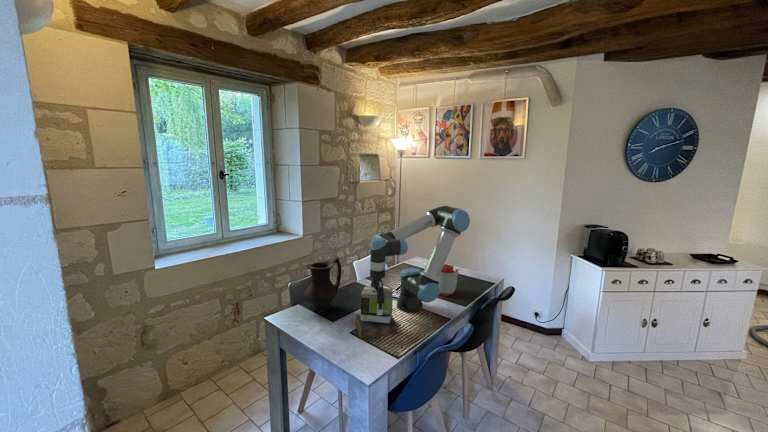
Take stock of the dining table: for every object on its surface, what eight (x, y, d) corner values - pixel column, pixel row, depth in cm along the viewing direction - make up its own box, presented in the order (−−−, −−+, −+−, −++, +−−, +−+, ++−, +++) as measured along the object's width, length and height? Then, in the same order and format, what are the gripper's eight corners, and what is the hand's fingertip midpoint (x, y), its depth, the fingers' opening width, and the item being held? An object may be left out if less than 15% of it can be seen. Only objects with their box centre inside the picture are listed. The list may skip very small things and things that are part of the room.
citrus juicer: (463, 296, 206) (465, 266, 202) (439, 299, 200) (441, 269, 197) (450, 286, 221) (452, 258, 217) (428, 289, 215) (429, 261, 211)
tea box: (392, 314, 167) (393, 288, 165) (389, 324, 158) (390, 296, 155) (364, 311, 170) (364, 285, 167) (360, 320, 160) (360, 293, 157)
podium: (389, 319, 174) (390, 311, 173) (397, 334, 160) (398, 325, 159) (355, 322, 170) (355, 314, 169) (360, 338, 155) (360, 329, 154)
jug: (307, 318, 172) (306, 266, 166) (302, 304, 189) (301, 255, 183) (345, 312, 180) (345, 261, 175) (336, 298, 197) (336, 252, 191)
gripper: (391, 277, 148) (390, 319, 152) (379, 260, 171) (378, 297, 175) (375, 278, 146) (374, 321, 150) (365, 261, 169) (364, 298, 173)
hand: (376, 308), depth 163 cm, fingers closed on tea box, 12 cm apart
